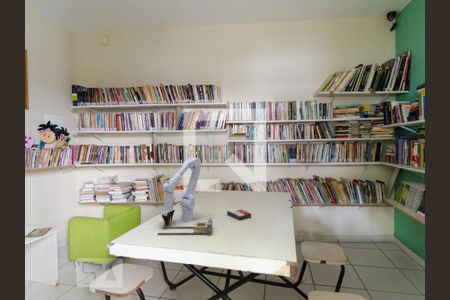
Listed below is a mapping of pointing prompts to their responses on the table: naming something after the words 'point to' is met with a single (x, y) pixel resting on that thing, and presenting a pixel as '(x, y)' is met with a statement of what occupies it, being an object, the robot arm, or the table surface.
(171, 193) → the robot arm
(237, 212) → the hard drive
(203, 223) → the wooden square frame
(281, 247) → the table surface
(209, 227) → the rail board
